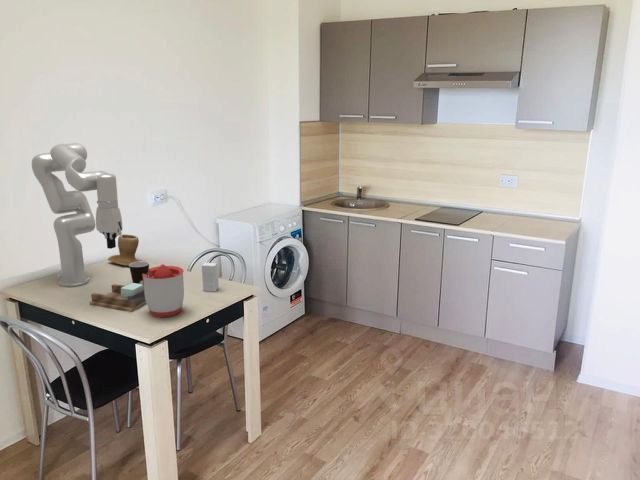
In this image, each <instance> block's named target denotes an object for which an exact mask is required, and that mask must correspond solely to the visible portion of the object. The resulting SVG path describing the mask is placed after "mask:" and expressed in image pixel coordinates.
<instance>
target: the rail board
mask: <svg viewBox="0 0 640 480" xmlns="http://www.w3.org/2000/svg"><path fill="white" fill-rule="evenodd" d="M124 286H125V285H122V284H115V283H113V284H111V292H108V293H106V294H102V293H101V294H100V293H95V292H93V293H91V294H90V295H91V297H90V298H91V301H90V302H89V306H93V307H101V308H106V309H111V310H117V311H123V312H128V313H129V312H130V313H133V312H135V311H137V310H139V309H140V308H142V307H144V306H147V303H146V299H145V293H144V288H142V289H140V290H138V291H136V292H134V293H132V294H130V295H128V299H127V298H121V288H122V287H124Z"/></svg>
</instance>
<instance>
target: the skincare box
mask: <svg viewBox="0 0 640 480" xmlns="http://www.w3.org/2000/svg"><path fill="white" fill-rule="evenodd" d="M218 270H219V269H218V263H217V262H216V263H215V262H204V263H203V264H202V265H201V275H202V277H201V278H202V291H203V292H217V291H218V290H219V289H220V287H219V271H218Z"/></svg>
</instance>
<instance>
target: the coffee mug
mask: <svg viewBox="0 0 640 480" xmlns="http://www.w3.org/2000/svg"><path fill="white" fill-rule="evenodd" d="M138 261H139V260H138ZM148 269H150V262H148V261H143V260H142V261H141V260H140V261H139V262H133V263H130V264H129V271H130V272H129V273H130V276H131V280H132V283H137V284H140V282H141V281H143V278H142V274H146V275H147V276H148V277H149V273H148Z"/></svg>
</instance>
